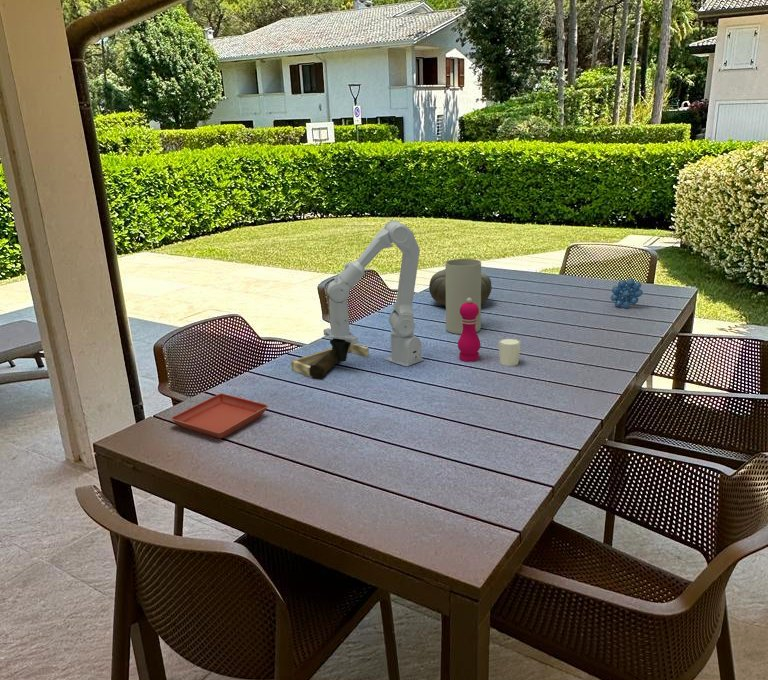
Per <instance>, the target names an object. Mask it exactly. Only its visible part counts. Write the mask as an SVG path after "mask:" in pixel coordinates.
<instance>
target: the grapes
mask: <svg viewBox="0 0 768 680" xmlns="http://www.w3.org/2000/svg"><path fill="white" fill-rule="evenodd" d="M641 287H642V284H641V282H640V281H639V282H638V281H635V279H634V278H629V279H627V280H624V279H622V280H620V281H618V283H617V285H615V286H613V287H612V288H611V293H612V295H611V296H610V300H611V302H614V306H615V307H616V308H620V307H622V308H624V309H627V308H630V306H631V305H636V304H637V303H639V299H640V297H641V296H642V295H643V294H644V293H643V292H644V291H643V290H642V289H641Z"/></svg>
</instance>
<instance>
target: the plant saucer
mask: <svg viewBox="0 0 768 680" xmlns="http://www.w3.org/2000/svg"><path fill="white" fill-rule="evenodd" d="M268 407H269V405H268V404H265V403H260V402H257V401H253V400H250V399H245V398H242V397H239V396H238V397H237V396H234V395H230V394H226V393H218V394H216V395H213V396H212V397H210V398H208V399H206V400H203V401H202V402H199V403H198V404H196V405H194V406H191V407H190V408H188V409H185V410H184V411H182V412H179V413H177V414H175V415H173V416H171V418H170V420H171V421H172V422H173V423H175V424H176V425H178V426H180V427H181V428H184V429H186V430H190V431H194V432H196V433H201V434H204V435H207V436H210V437H212V438H216V439H223V438H225V437H227V436H228V435H230V434H232V433H235V432H236V431H238V430H239V429H241V428H243V427H245V426H246V425H248V424H250V423H252V422H254V421H255V420H257V419H259V418H260V417H261V416H262V415H263V414H264V413H265V412H266V410H267V409H268Z"/></svg>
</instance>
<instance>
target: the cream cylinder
mask: <svg viewBox="0 0 768 680" xmlns="http://www.w3.org/2000/svg"><path fill="white" fill-rule="evenodd" d="M521 343H522V342H521V340H520V339H516V338H503V339H499V340H498V353H499V354H498V355H499V364H501V365H503V366H506V367H514V366H518V364H519V361H520V360H519V359H520V352H521Z"/></svg>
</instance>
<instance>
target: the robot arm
mask: <svg viewBox="0 0 768 680" xmlns="http://www.w3.org/2000/svg"><path fill="white" fill-rule="evenodd" d="M392 243H393V244H392ZM393 245H396V247H397V249H398V250H400V251H401V254H402V256H401V263H400V271H399V279H398V286H397V293H396V299H395V300H396V301H395V304H394V305H393V308H392V311H391V313H390V314H389V318H388V322H389V324H390V326H391V328H392V329H391V331H390V345H391V346H390V347H391V354H390V355H391V356H389V357H387V358H385V360H386V361H388V362H391V363H394V364H397V365H400V366H402V367H403V366H404V367H409V366H412V365H414V364H416V363H417V364H418V363H419V362H422V361H424V358H422V341H421V339H420V338H419V337H417V336H416V335H415V333H414V331H415V328H416V323H415V321H414V315H415V314H414V309H413V301H414V293H415V287H416V281H417V273H418V266H419V259H420V254H421V253H420V252H421V251H420V246H419V244H418V241H417V239H416V237H415V234H414V231H413V230H412V229H410V228H409V226H407V225H406V224H403V223H401V222H400V221H399V220H394V219H393V220H390V221H388V222H387V223H386V224H385V225H384V227H382V228H381V229H380V230H379V231H378V232H377V234H376V235H375V236H374V237H373V239H372V240H371V241H370V243H369V244H368V245H367V246H366V248H365V249H364V251H363V252H362V253H361V254H360V256H359V257H358V258H357V260H352V261H349V263H345V264H344V265H343V268H344V269H342V270H341V272H340V273H339V274H338V275H337V276H334V277H333V279H334V280H333V281H330V282H329V284H328V285H327V288H326V293H327V295H328V296H329V298H328V299H329V301H328V302H329V306H328V310H329V321H330V327H329V328H325V329H324V328H323V336H325V337H327V336H328V338H329V339H330V340H329V344H330V345H331V348H332V347H333V348H334V350H335V353H336V356H337V359H338V361H339V363H343V362H346V361H347V356H348V353H347V352H348V349H349V347H350V344H353V345H354V344H359V337H358V336H356V335H354V334H353V333H352V332H350V318H349V305H348V298H349V297H350V296H349V295H350V291H351V290H352V289H353V288H354V287H355V286H356V285H357V283H359V281H360V280H361V279H362V278H363V277H364V275H365V274H366V273H365V272H366V271H365V268H366V267H367V266H368V265H369V264H370V263H371V262H372V261H373V260H374V258H375V257H376V256H377V255H378V254H379V253H380V252H381V251H383V249H388V248H393V247H394V246H393Z"/></svg>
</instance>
